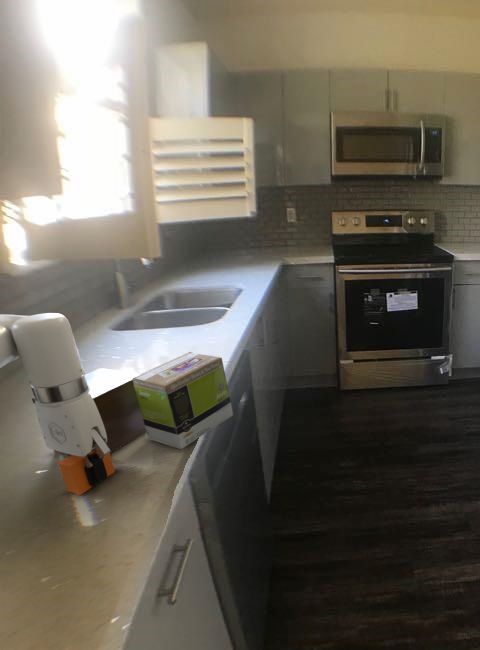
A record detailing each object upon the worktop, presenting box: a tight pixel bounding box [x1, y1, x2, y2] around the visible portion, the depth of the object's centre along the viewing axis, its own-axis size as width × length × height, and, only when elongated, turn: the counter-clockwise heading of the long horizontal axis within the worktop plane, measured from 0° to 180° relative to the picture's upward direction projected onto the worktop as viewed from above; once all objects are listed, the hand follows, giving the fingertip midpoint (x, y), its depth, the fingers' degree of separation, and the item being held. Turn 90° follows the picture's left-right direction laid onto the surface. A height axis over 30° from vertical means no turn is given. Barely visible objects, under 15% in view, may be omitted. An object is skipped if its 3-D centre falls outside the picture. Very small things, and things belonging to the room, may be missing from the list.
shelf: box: [31, 367, 147, 457], centre depth 93 cm, size 12×15×13 cm
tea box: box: [132, 351, 234, 450], centre depth 97 cm, size 15×10×15 cm
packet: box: [57, 444, 116, 496], centre depth 82 cm, size 3×7×6 cm, turn 159°
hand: (91, 478), depth 83 cm, fingers closed on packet, 3 cm apart
